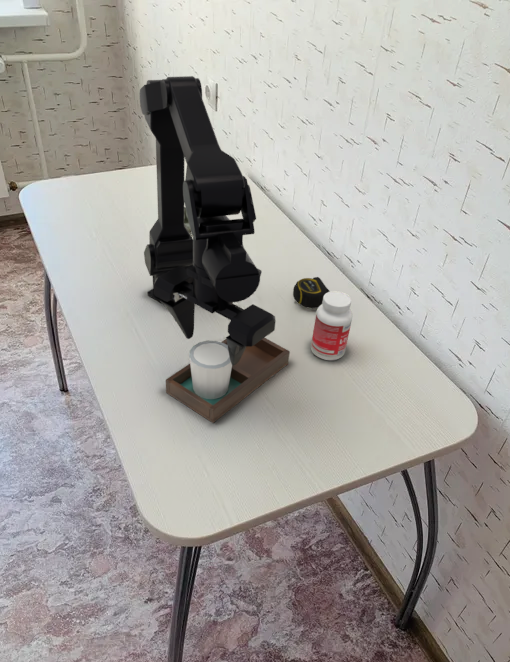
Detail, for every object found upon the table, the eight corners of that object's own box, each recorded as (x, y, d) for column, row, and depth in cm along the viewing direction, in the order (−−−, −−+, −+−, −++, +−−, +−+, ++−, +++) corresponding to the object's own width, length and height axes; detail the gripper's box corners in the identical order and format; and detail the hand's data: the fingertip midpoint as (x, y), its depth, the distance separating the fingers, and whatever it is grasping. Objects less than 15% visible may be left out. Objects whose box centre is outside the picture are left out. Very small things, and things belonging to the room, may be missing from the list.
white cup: (216, 408, 96) (217, 374, 91) (180, 390, 98) (179, 356, 94) (240, 384, 101) (242, 350, 96) (205, 367, 103) (206, 334, 98)
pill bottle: (341, 365, 107) (352, 312, 100) (306, 356, 108) (315, 304, 101) (347, 344, 112) (358, 293, 104) (314, 336, 113) (323, 285, 105)
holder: (165, 392, 99) (165, 379, 97) (243, 338, 111) (244, 326, 109) (213, 423, 95) (213, 410, 93) (288, 363, 106) (289, 351, 105)
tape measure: (332, 309, 120) (335, 293, 117) (299, 314, 118) (302, 297, 115) (319, 290, 124) (321, 274, 122) (287, 294, 122) (289, 278, 120)
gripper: (304, 264, 85) (292, 352, 95) (203, 217, 93) (202, 304, 103) (253, 297, 78) (246, 388, 88) (149, 243, 86) (153, 333, 96)
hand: (211, 350), depth 94 cm, fingers open, 9 cm apart
